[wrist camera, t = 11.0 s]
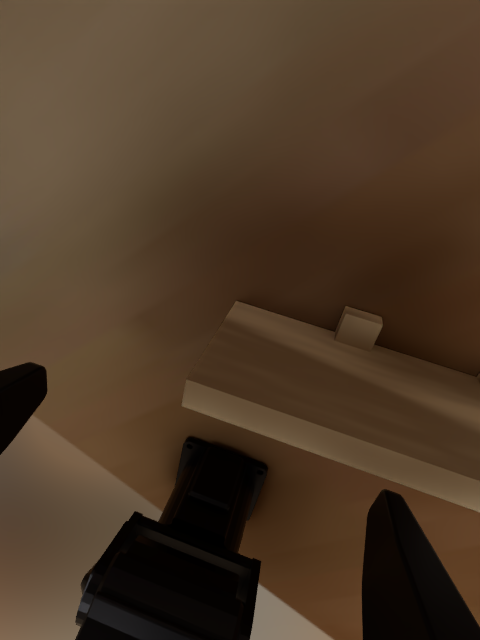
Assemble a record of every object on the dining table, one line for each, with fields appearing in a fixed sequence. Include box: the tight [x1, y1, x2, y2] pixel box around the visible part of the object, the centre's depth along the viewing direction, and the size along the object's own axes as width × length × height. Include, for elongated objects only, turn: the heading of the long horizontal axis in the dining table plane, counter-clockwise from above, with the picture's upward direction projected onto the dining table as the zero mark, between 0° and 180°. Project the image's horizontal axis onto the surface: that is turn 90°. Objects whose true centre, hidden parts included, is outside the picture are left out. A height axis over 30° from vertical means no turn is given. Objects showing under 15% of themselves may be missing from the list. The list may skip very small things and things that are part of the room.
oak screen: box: [182, 301, 480, 512], centre depth 18 cm, size 5×16×8 cm, turn 77°
